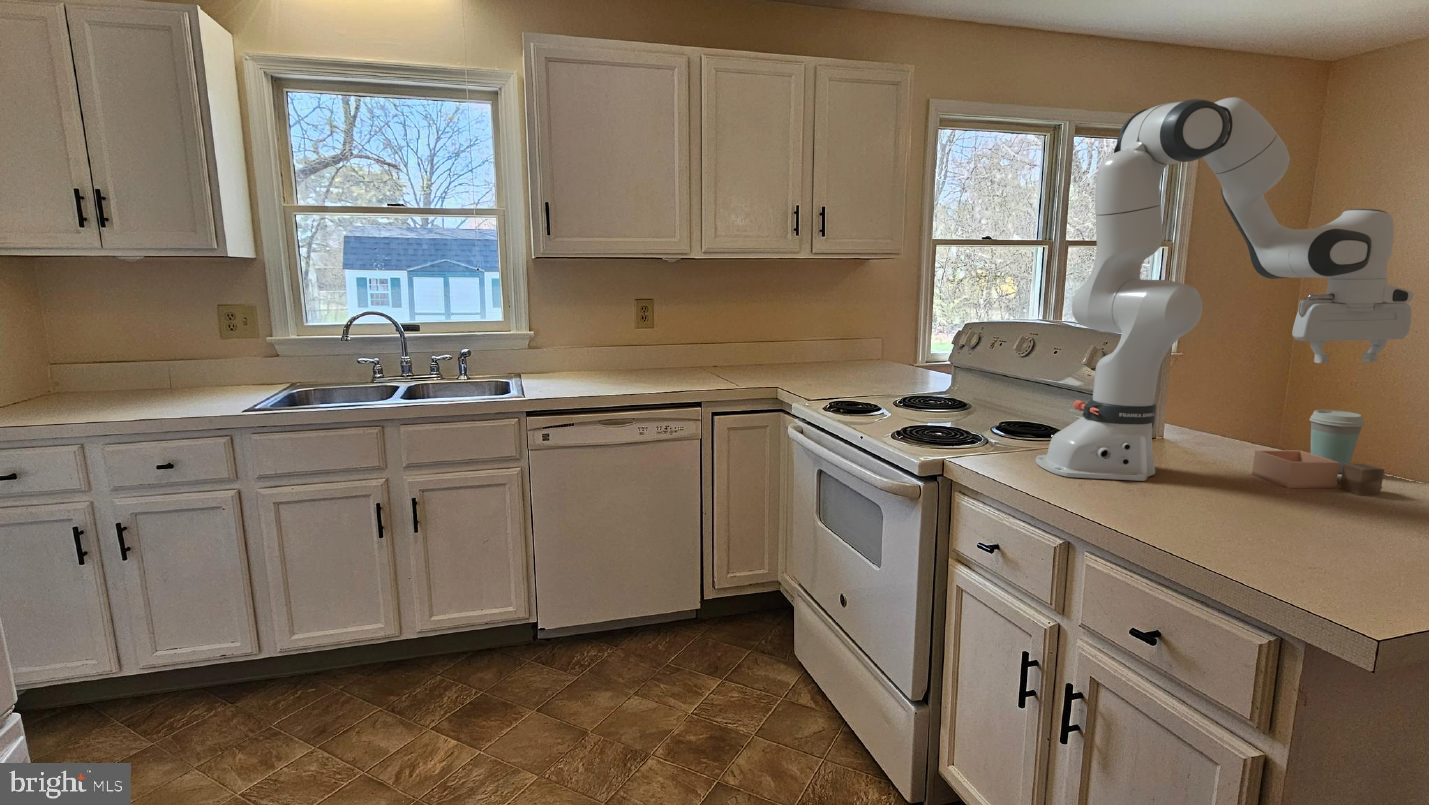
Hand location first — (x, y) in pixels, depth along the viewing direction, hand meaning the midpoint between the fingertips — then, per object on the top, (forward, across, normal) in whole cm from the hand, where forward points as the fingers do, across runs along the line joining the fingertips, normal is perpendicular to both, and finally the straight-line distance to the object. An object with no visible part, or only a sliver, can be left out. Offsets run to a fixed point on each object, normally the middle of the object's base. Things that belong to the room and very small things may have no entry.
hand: (1344, 362), depth 144 cm
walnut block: (+22, -6, -15) cm, 28 cm away
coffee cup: (+23, 0, 0) cm, 23 cm away
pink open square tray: (+22, -14, -9) cm, 27 cm away
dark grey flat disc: (+23, -3, -10) cm, 25 cm away
